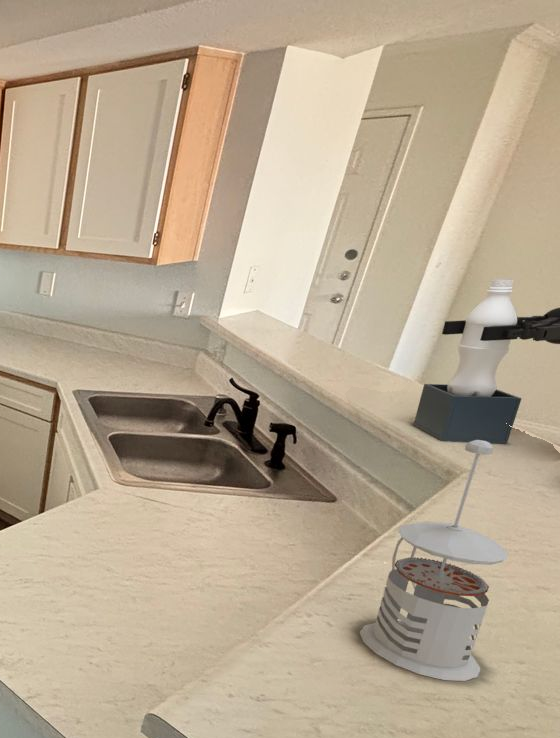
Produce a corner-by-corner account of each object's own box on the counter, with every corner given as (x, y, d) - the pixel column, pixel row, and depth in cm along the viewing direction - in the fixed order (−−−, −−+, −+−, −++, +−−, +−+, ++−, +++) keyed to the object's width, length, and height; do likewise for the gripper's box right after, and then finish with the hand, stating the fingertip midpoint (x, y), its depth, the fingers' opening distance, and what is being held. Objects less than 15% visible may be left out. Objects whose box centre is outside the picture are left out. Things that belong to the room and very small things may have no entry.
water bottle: (448, 401, 124) (482, 281, 116) (440, 393, 130) (472, 278, 122) (497, 405, 120) (536, 281, 112) (486, 397, 126) (522, 277, 118)
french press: (385, 671, 63) (448, 454, 55) (337, 608, 73) (385, 418, 65) (505, 689, 60) (589, 461, 52) (437, 620, 70) (499, 422, 62)
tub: (473, 428, 130) (486, 385, 127) (507, 443, 121) (521, 398, 118) (413, 425, 134) (424, 383, 131) (441, 440, 124) (453, 396, 121)
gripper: (633, 352, 112) (511, 358, 112) (517, 335, 131) (413, 340, 131) (648, 312, 109) (524, 319, 109) (527, 301, 128) (422, 306, 129)
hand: (464, 330), depth 120 cm, fingers closed on water bottle, 7 cm apart
